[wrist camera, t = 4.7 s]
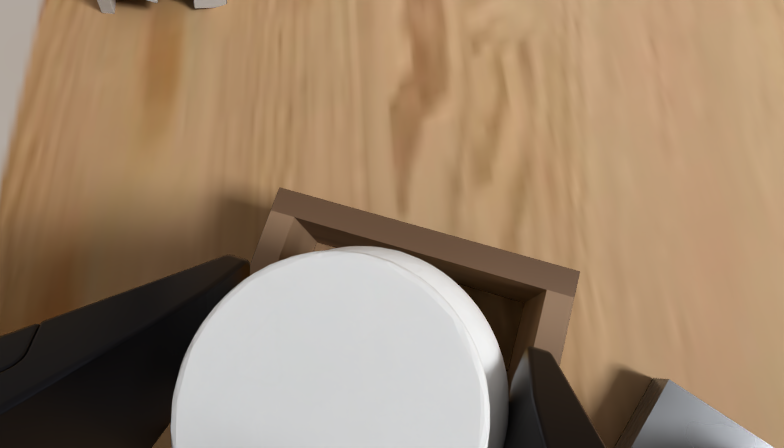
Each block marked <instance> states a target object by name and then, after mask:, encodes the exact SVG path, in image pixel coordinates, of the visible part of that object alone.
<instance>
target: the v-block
mask: <svg viewBox="0 0 784 448" xmlns="http://www.w3.org/2000/svg"><path fill="white" fill-rule="evenodd" d="M614 448H774V447H772V446H771V445H769V444H768V443H766V442H764V441H763V440H761V439H760V438H758V437H757V436H755V435H754V434H752V433H751V432H749V431H748V430H746V429H745V428H743V427H741V426H740V425H738V424H737V423H735V422H734V421H732V420H731V419H729V418H728V417H726V416H725V415H723V414H721V413H720V412H718V411H717V410H715V409H714V408H712V407H711V406H709V405H708V404H706V403H705V402H703V401H702V400H700V399H698V398H697V397H695V396H694V395H692V394H691V393H689V392H688V391H686V390H685V389H683V388H682V387H680V386H678V385H677V384H675V383H674V382H672V381H671V380H669V379H657V378H653V380H652V381H651V383H650V385H649V387H648V389H647V390H646V392H645V394H644V396H643V397H642V399H641V401H640V403H639V405H638V406H637V408H636V410H635V412H634V413H633V415H632V417H631V419H630V421H629V422H628V424H627V426H626V428H625V429H624V431H623V433H622V435H621V437H620V438H619V440H618V442H617V444H616V445H615V447H614Z"/></svg>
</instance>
